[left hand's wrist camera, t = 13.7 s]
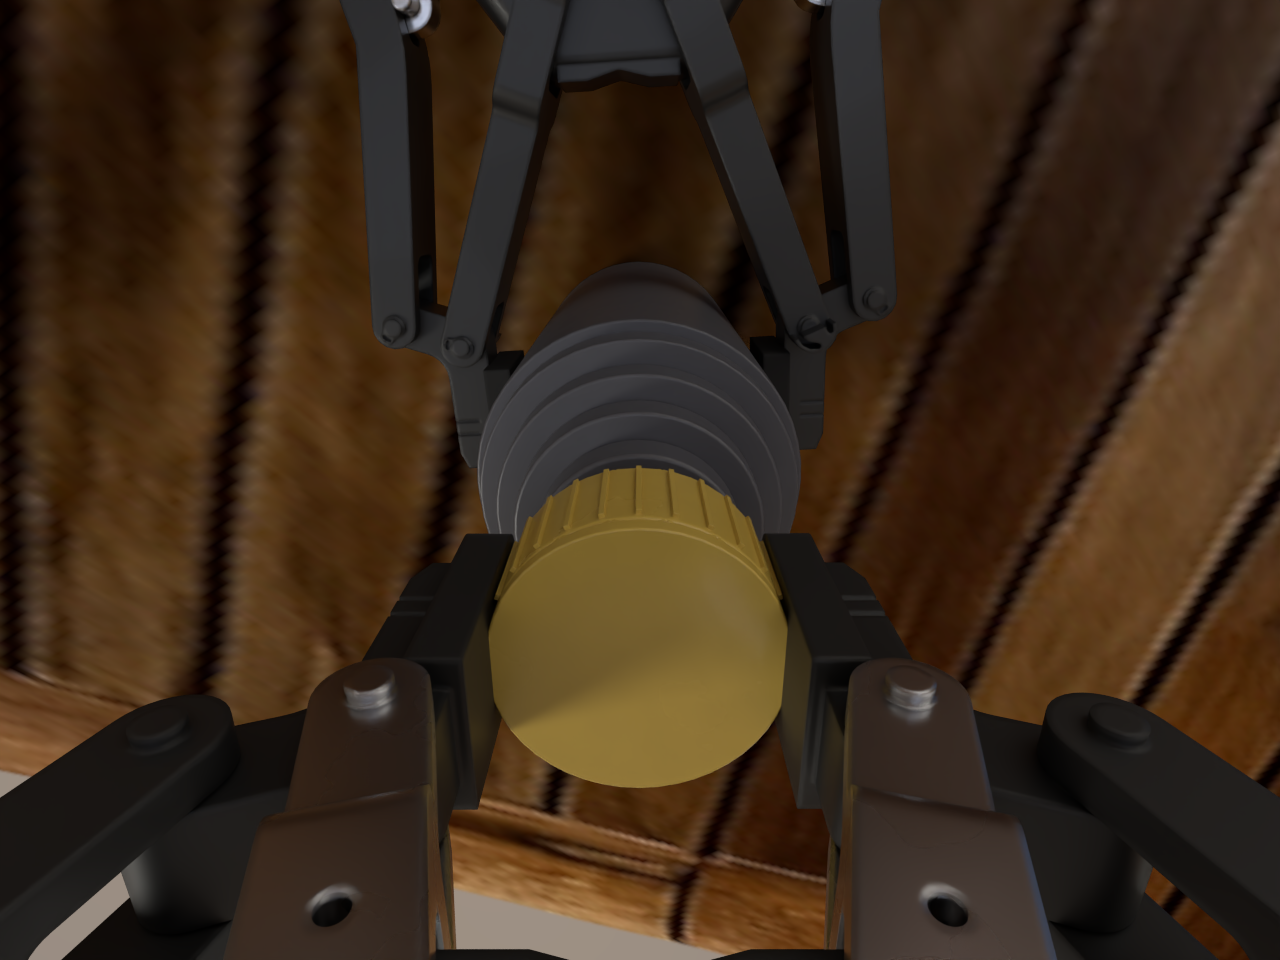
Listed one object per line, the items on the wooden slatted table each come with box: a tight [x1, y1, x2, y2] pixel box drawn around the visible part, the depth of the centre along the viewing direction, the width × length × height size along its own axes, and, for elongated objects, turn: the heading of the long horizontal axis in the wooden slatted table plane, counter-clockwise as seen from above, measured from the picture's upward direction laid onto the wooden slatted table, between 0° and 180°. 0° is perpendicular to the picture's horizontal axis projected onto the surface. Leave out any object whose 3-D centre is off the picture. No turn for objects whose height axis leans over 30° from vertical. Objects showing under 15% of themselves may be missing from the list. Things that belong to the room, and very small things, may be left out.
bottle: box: [477, 262, 801, 542], centre depth 20 cm, size 7×7×20 cm
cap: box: [488, 466, 788, 788], centre depth 11 cm, size 4×4×2 cm
